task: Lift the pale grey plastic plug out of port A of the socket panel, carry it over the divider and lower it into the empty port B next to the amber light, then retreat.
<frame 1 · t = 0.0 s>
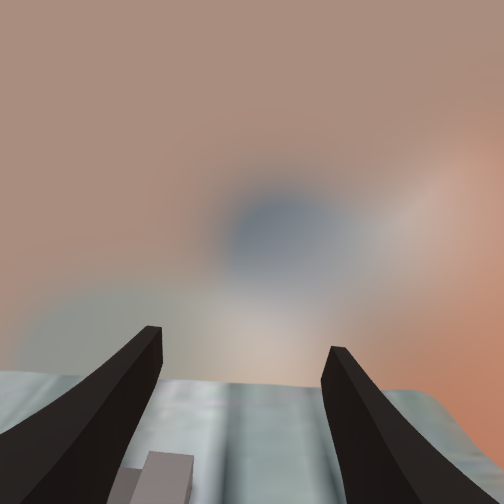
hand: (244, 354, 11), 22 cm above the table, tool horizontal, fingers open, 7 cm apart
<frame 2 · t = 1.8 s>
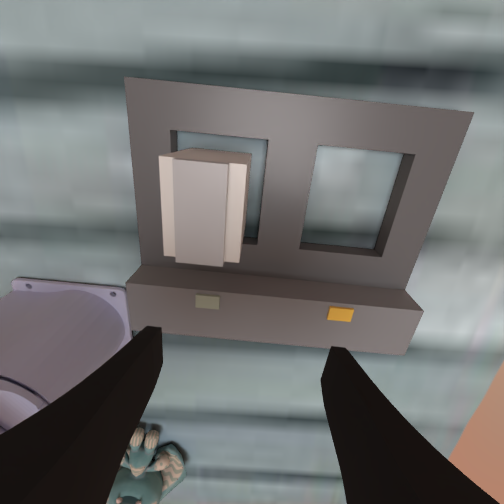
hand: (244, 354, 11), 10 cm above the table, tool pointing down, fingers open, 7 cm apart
plug: (220, 188, 19), resting in socket panel
socket panel: (283, 194, 19), on the table
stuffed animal: (147, 448, 33), on the table
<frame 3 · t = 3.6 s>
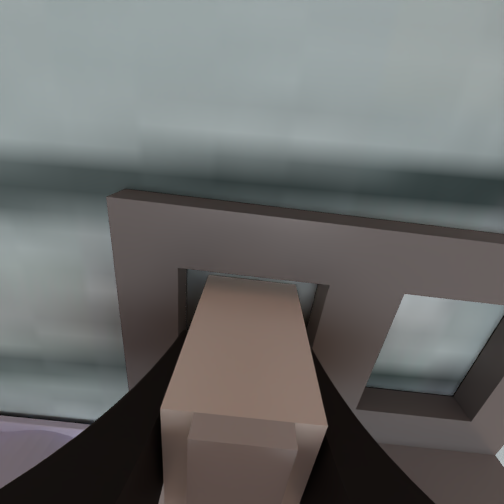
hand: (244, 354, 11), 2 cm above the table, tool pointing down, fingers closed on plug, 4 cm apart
plug: (246, 323, 13), resting in socket panel, touching gripper
socket panel: (336, 333, 13), on the table
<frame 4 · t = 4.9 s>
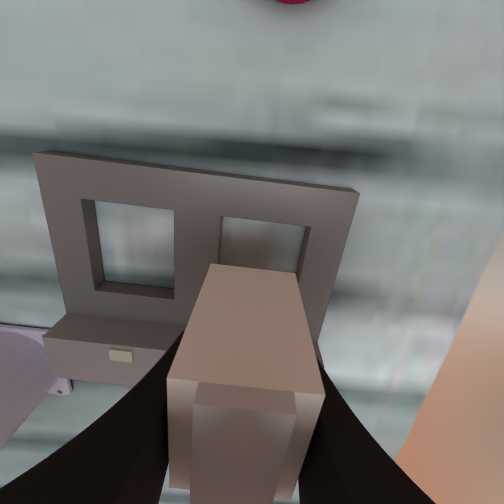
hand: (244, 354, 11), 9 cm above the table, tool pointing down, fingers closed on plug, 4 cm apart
plug: (247, 311, 13), point 7 cm above the table, touching gripper
socket panel: (199, 252, 20), on the table
when the fingers open (3 cm above the table, at t = 6.5 s): plug stays where it is, resting in socket panel.
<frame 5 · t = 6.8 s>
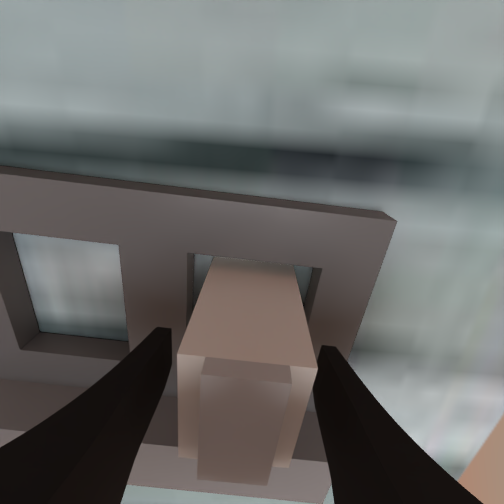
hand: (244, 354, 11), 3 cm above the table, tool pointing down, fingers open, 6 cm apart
plug: (248, 301, 14), resting in socket panel
socket panel: (165, 297, 14), on the table
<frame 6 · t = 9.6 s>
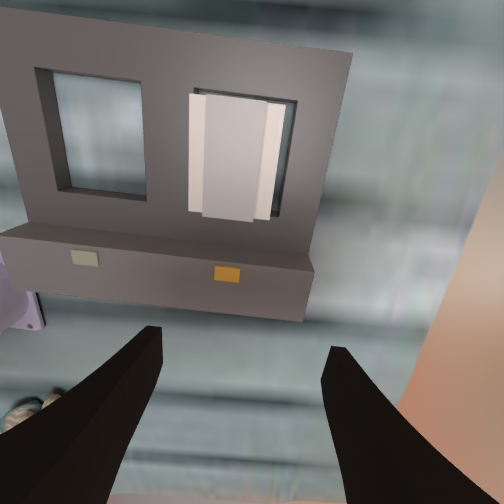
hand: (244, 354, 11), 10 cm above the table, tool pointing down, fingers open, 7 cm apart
plug: (242, 152, 18), resting in socket panel
socket panel: (174, 148, 18), on the table
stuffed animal: (63, 417, 31), on the table
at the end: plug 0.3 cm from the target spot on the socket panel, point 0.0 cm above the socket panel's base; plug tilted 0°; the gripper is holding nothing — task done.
